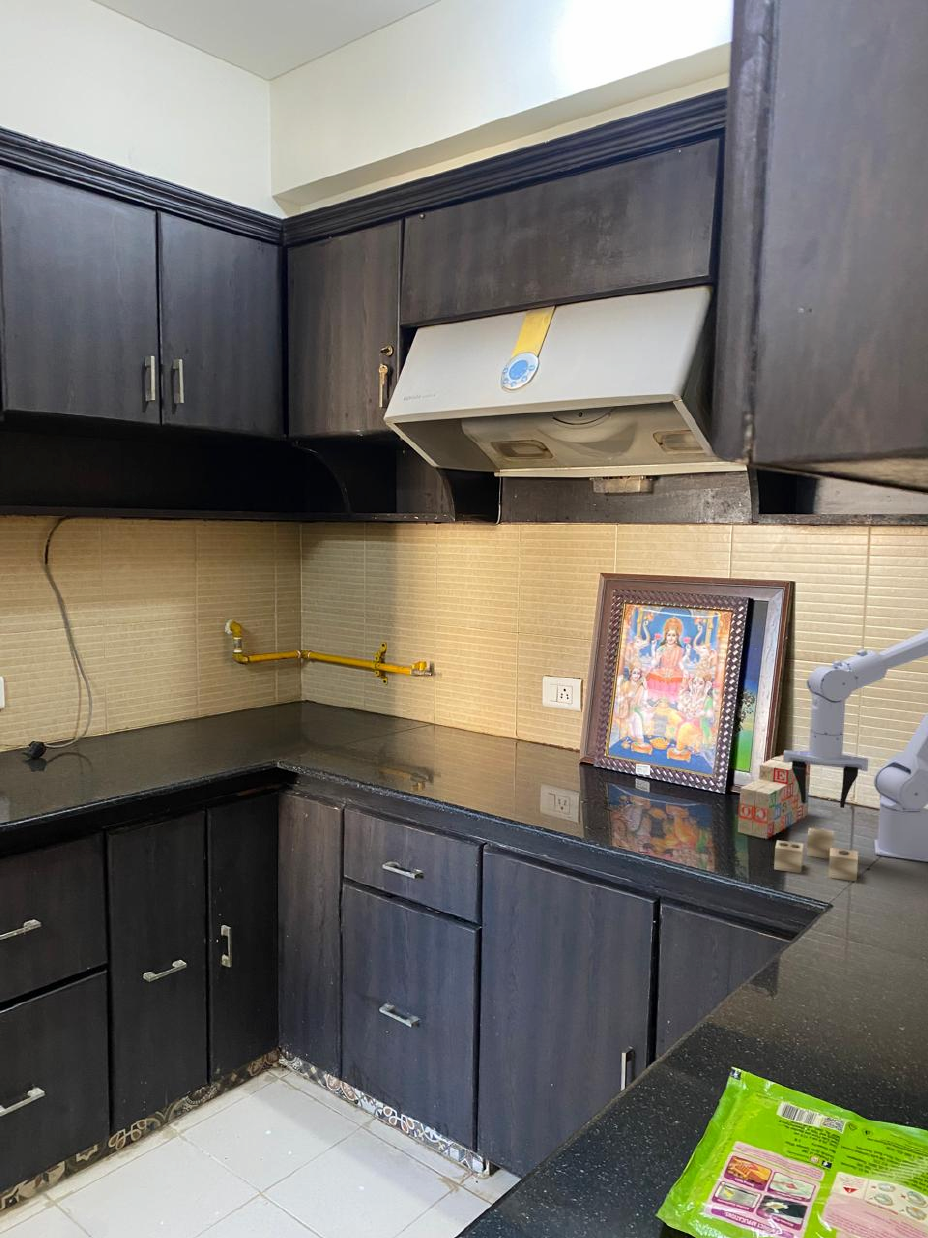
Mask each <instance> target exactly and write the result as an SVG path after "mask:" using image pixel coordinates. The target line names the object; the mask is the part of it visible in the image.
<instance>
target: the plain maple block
mask: <svg viewBox="0 0 928 1238" xmlns="http://www.w3.org/2000/svg"><path fill="white" fill-rule="evenodd" d="M806 841H807V842H806V856H809V857H817V858H823V859H830V848H834V843H835V831H834V830H828V829H821V828H815V827H814V828H813V827H808V831H807V840H806Z"/></svg>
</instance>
